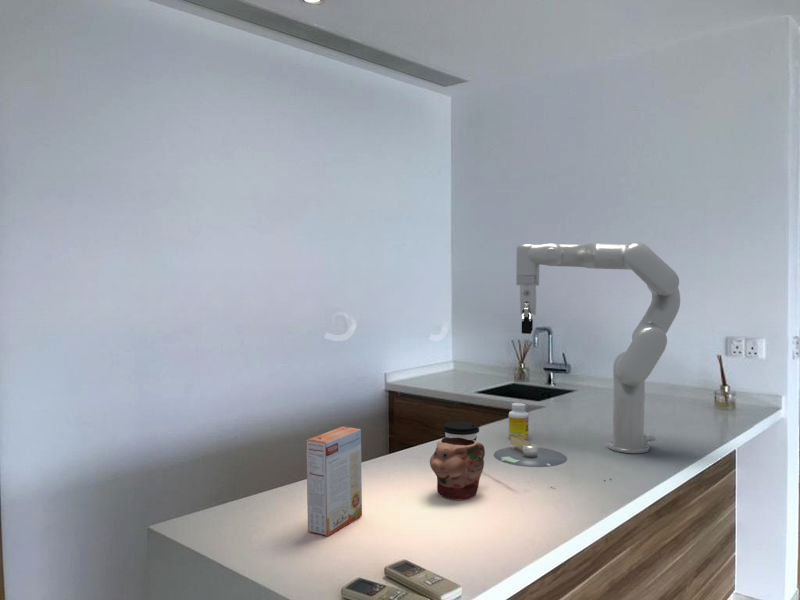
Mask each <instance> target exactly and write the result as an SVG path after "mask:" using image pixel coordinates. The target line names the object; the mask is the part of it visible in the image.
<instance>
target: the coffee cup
mask: <svg viewBox="0 0 800 600" xmlns="http://www.w3.org/2000/svg"><path fill="white" fill-rule="evenodd" d="M442 432H443V433H444V435H445V436H444V438H445V437H449V438H450V437H458V438H467V439H471V440H475V441H477V437H478V436H477V434H478V433H479V432H480V428H479V425H478V424H476V423H475V422H471V421H465V420H464V421H463V420H462V421H461V420H457V421H448V422H446V423H444V426H442Z"/></svg>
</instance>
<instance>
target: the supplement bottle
mask: <svg viewBox="0 0 800 600" xmlns="http://www.w3.org/2000/svg"><path fill="white" fill-rule="evenodd" d="M507 433H508V437H507V438H508V439H509V440H510V441H511V438H510V435H514V436H518V437H520V438H522V439H524V440H526V441H528V440H529V413H528V412H527V411H526V403H523V402H514V403H511V411H509V413H508V432H507Z"/></svg>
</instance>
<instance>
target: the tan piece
mask: <svg viewBox="0 0 800 600" xmlns="http://www.w3.org/2000/svg"><path fill="white" fill-rule="evenodd" d="M510 438H511V440H510V445H511V446H512V447H517V448H520V449H522V450H523V456H525V457H537V447H538V445H537V444H534V443H532V442H531V441H528V440H524V439H522V438H520V437H518V436H514V435H510ZM538 448H539V447H538Z"/></svg>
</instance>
